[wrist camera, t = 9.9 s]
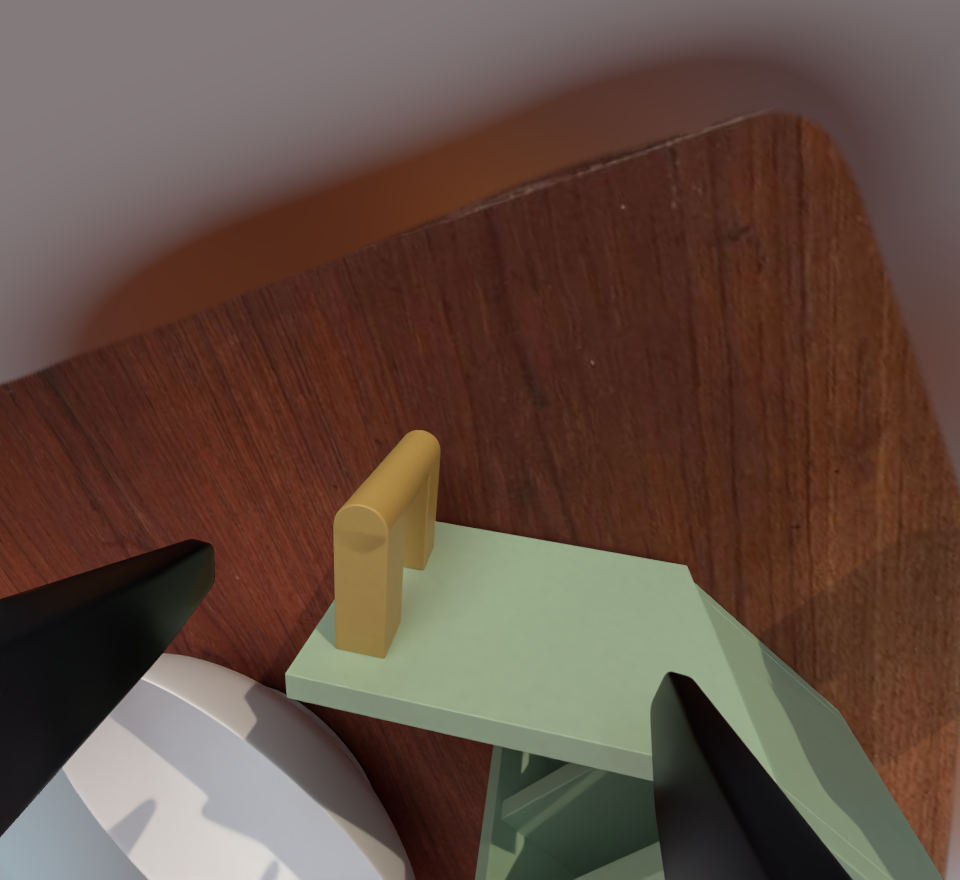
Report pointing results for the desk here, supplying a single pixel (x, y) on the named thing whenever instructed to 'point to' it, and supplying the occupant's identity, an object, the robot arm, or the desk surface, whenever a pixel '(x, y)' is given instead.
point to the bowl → (231, 784)
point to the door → (503, 630)
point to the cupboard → (630, 801)
